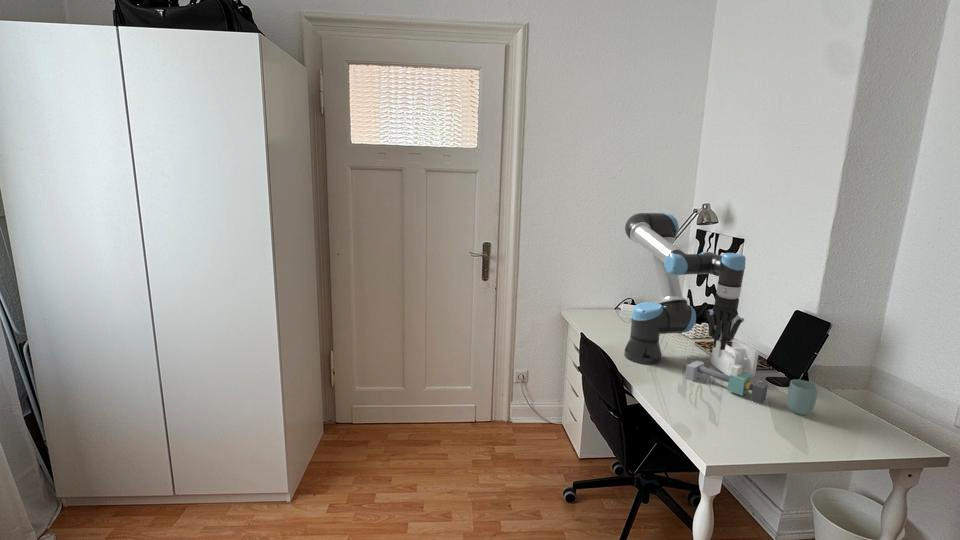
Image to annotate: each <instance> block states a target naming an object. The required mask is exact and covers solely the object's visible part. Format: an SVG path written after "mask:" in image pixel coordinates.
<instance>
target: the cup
mask: <svg viewBox="0 0 960 540" xmlns="http://www.w3.org/2000/svg"><path fill="white" fill-rule="evenodd" d="M818 393H819V387H818V386H817V384H815V383H813V382H810V381H807V380H804V379H795V378H794V379H791V380H790V381H789V387H788V391H787V400H786V403H787V406H788V409H789V410H790V411H791V412H793V413H794V414H796V415H800V416H801V415H802V416H808V415H810V414H812V412H813V411H814V409H815V406H816V403H817V397H818Z"/></svg>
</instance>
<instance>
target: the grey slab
mask: <svg viewBox="0 0 960 540" xmlns="http://www.w3.org/2000/svg"><path fill="white" fill-rule="evenodd" d="M699 366H702V367H705V362H704V361H700V360H695V361H693V362H691V363H688V364H686V370H685V376H684V379H686V380H689V381H691V382H694V381H695V380H697V379H699V378H701V377H702V376H703V373H700V372H698V371H697V370H698V367H699Z"/></svg>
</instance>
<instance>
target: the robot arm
mask: <svg viewBox="0 0 960 540" xmlns="http://www.w3.org/2000/svg"><path fill="white" fill-rule="evenodd" d="M624 226H625V227H624V231H625V234H626V236H627V237H628V238H629V239H630V240H631V241H632V242H633V243H635V244H640V245H641V246H642V247H643V248H645V249H646V250H648V251H649V252H650V254H652V256H653V261H654V268H655V272H656V278H657V284H658V288H659V289H658V290H659V296H660V300H659V302H649V301H645V302H640V303H637V304H636V305H634V306H633V308H632V314H631V322H630V323H631V326H630V333H629V334H630V336H629V340H628V341H627V343H626V346H625V347H624V352H623V355H624V357H625V358H626V359H628V360H629V361H632V362H634V363H639V364H645V365H656V364H659V363H660V362H661V361H662V356H663V354H662V350H661V346H660V336H661V335H663V334H668V335H669V334H683V333H688V332H690V331H692V329H694V326H695V325H696V321H697V313H696V310H695V309H694V308H693V306H692V305H689V304H688V300H687V299H686V298H685V297H683V294H682V288H681V283H680V279H679V276H681V275H713V276H715V277H718V281H717V287H716V295H715V300H714V305H713V307H712V309H707V310H705V315H706V317H707V323H708V325H707V327H708V335H709V337H711V338H713V342H714V344H713V343H712V348H713V347H715V353H714V357H716V358H719V357H721V355H722V350H724V349H725V347H726V344H727V343H730V342H733V340H734V338H735V336H736V333H737V331H738V329H739V328H740V325H741V324H742V323H743V322H745V318H744V317H740V315H739V312H738V307H739V303H740V299H739V298H740V297H741V291H742V284H743V279H744V274H745V269H746V261H747V259H746V256H745V255H743V254H741V253H736V252H725V253H723V254H722V255H720V254H717V253H714V252H710V251H709V252H708V251H702V252H700V253H694V254H693V253H686V252H684V251H683V250H681V249H680V248H678V247H677V246H675V245H674V244H673V243H674V242H675V241H676V237H677V236H678V234H679V228H680V227H679V226H680V225H679V222H678V220H677V218H676V217H675V216H674V215H673V214H671V213H667V212H666V213H665V212H639V213H635V214H633V215H631V216H630V217H629V218H628V219H627V221H626V223H625V225H624ZM715 318H716V319H715ZM733 320H734V323H733V325H732V328H731V329H730V325H731V324H732V323H731V322H732V321H733ZM715 322H716V323H715ZM729 331H730V332H729Z"/></svg>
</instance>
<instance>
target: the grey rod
mask: <svg viewBox="0 0 960 540" xmlns="http://www.w3.org/2000/svg"><path fill="white" fill-rule="evenodd" d="M697 371H698V372H700V373H703V374H704V375H706V376H709V377H712V378H714V379H717V380H720V381H723V382H727V383H729V376H728V375H725V374H724V373H723V372H720V371H716V370H714V369H710V368H707V367H705V366H704V367H702V366H699V367H698V370H697ZM754 384H755V383H751V382H750V383H749V382H745V389H747V390H749V391H751V392H752V389H753V385H754Z"/></svg>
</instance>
